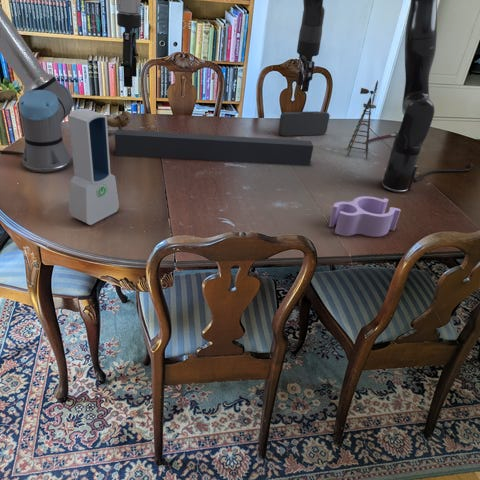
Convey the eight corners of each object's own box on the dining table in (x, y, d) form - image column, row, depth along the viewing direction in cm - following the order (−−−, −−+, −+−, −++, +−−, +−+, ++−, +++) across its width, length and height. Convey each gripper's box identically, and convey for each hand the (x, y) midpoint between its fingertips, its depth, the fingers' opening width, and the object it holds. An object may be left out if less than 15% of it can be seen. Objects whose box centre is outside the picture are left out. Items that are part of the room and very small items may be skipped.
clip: (342, 240, 135) (347, 220, 131) (322, 219, 145) (326, 199, 141) (399, 234, 141) (406, 214, 137) (377, 213, 151) (382, 194, 147)
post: (115, 155, 171) (114, 134, 166) (117, 150, 175) (116, 129, 171) (309, 165, 179) (313, 145, 175) (307, 160, 184) (310, 140, 179)
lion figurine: (130, 130, 193) (129, 109, 188) (132, 135, 188) (131, 113, 184) (93, 131, 188) (91, 109, 183) (94, 136, 184) (93, 114, 179)
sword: (403, 131, 224) (404, 129, 223) (408, 133, 222) (409, 131, 221) (360, 143, 208) (360, 140, 207) (365, 145, 206) (366, 142, 205)
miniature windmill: (367, 159, 190) (386, 84, 173) (346, 156, 191) (363, 81, 174) (366, 151, 197) (385, 79, 181) (346, 148, 198) (363, 76, 182)
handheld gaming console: (323, 132, 212) (327, 111, 207) (326, 134, 210) (330, 113, 205) (277, 134, 205) (280, 111, 200) (279, 136, 203) (282, 113, 198)
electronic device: (87, 227, 129) (77, 121, 112) (68, 218, 132) (56, 113, 115) (120, 210, 138) (114, 110, 122) (101, 202, 141) (94, 103, 125)
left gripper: (137, 20, 138) (138, 92, 149) (144, 9, 159) (144, 73, 170) (111, 17, 137) (114, 90, 148) (121, 6, 158) (123, 71, 169)
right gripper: (325, 44, 151) (316, 94, 160) (315, 36, 163) (308, 83, 172) (302, 42, 151) (295, 93, 159) (295, 34, 162) (288, 82, 171)
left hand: (130, 81), depth 159 cm, fingers open, 13 cm apart
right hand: (302, 88), depth 166 cm, fingers open, 8 cm apart
